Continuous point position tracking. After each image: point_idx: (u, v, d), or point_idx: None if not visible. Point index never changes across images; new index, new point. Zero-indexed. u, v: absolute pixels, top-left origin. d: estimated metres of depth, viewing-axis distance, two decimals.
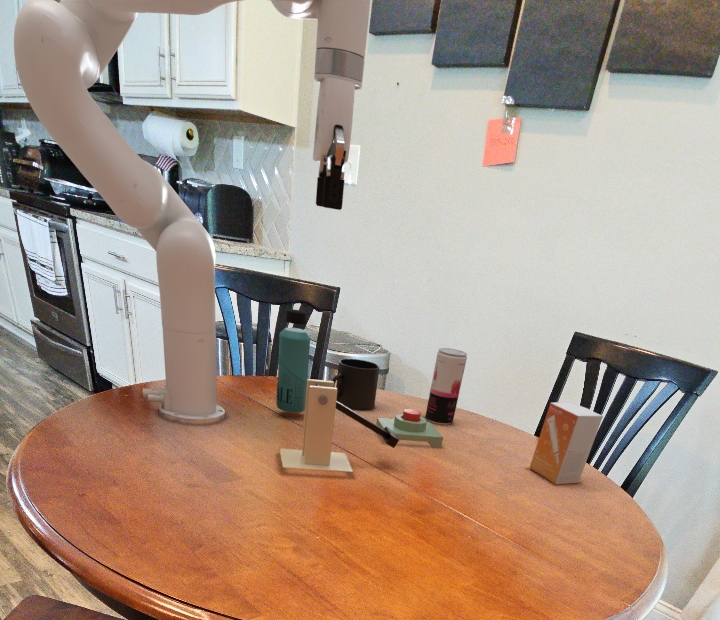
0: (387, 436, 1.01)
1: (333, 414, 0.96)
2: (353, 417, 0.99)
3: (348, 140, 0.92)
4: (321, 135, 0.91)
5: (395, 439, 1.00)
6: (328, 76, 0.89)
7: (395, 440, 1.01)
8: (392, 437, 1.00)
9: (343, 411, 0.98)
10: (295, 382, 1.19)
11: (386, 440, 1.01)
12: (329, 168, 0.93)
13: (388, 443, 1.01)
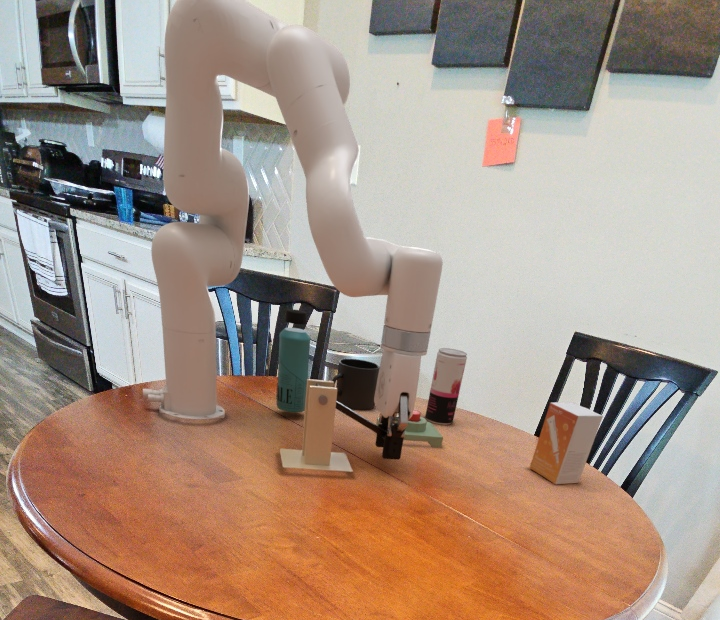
0: None
1: (333, 414, 0.96)
2: (353, 417, 0.99)
3: (413, 403, 0.95)
4: (387, 400, 0.94)
5: None
6: (396, 351, 0.91)
7: None
8: None
9: (343, 411, 0.98)
10: (295, 382, 1.19)
11: None
12: (390, 432, 0.98)
13: None
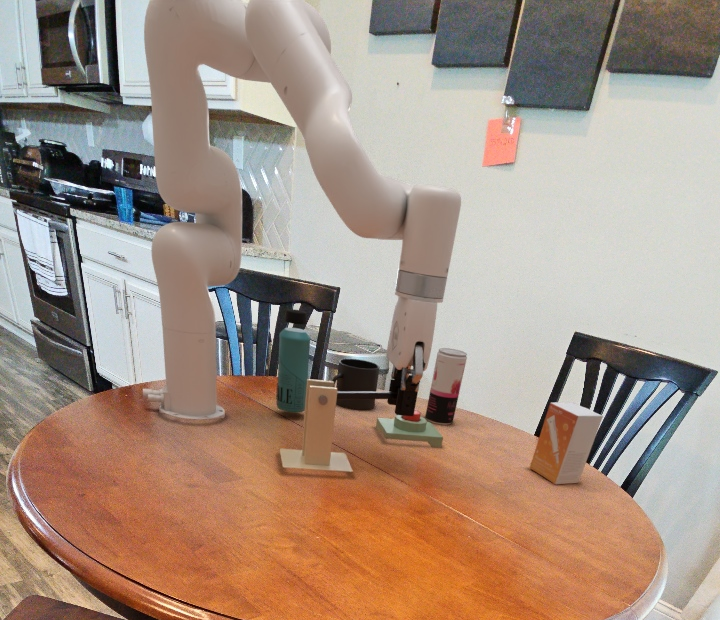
0: None
1: (333, 414, 0.96)
2: (360, 397, 0.97)
3: (428, 354, 0.91)
4: (401, 350, 0.90)
5: None
6: (411, 297, 0.87)
7: None
8: None
9: (348, 397, 0.97)
10: (295, 381, 1.19)
11: None
12: (404, 385, 0.94)
13: None
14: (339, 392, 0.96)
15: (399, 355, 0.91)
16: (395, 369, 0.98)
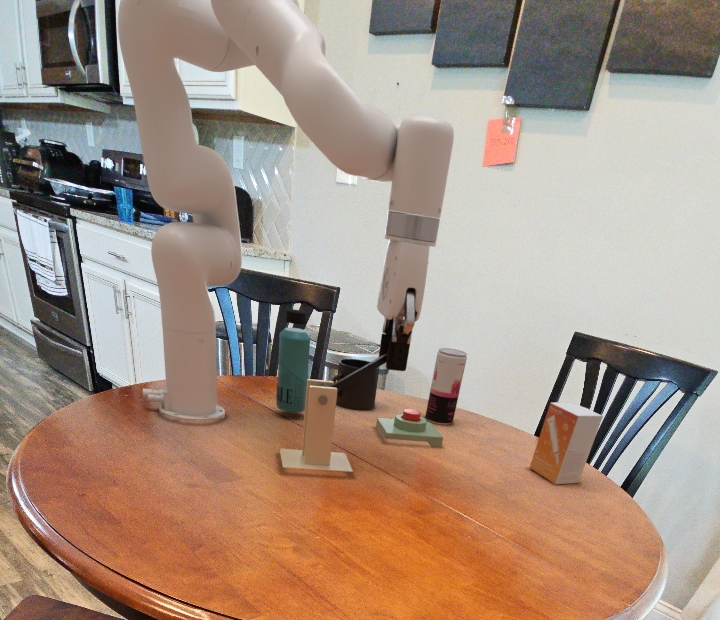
0: None
1: (333, 414, 0.96)
2: (356, 377, 0.95)
3: (420, 301, 0.86)
4: (392, 297, 0.85)
5: None
6: (402, 240, 0.82)
7: None
8: None
9: (345, 384, 0.95)
10: (295, 381, 1.19)
11: None
12: (395, 337, 0.89)
13: None
14: (336, 383, 0.95)
15: (390, 303, 0.86)
16: (386, 322, 0.94)
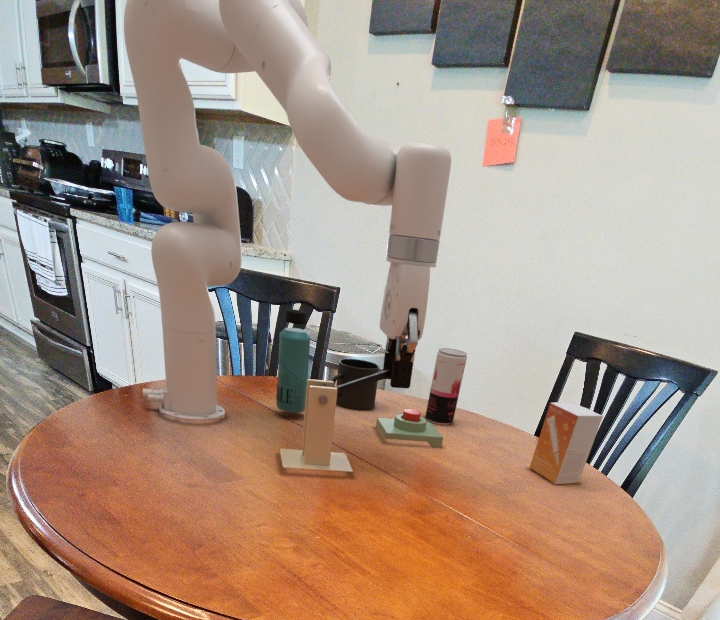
0: None
1: (333, 414, 0.96)
2: (359, 385, 0.96)
3: (423, 321, 0.88)
4: (395, 318, 0.87)
5: None
6: (403, 262, 0.84)
7: None
8: None
9: (347, 389, 0.96)
10: (295, 382, 1.19)
11: None
12: (399, 355, 0.91)
13: None
14: (337, 386, 0.96)
15: (393, 323, 0.88)
16: (389, 341, 0.96)
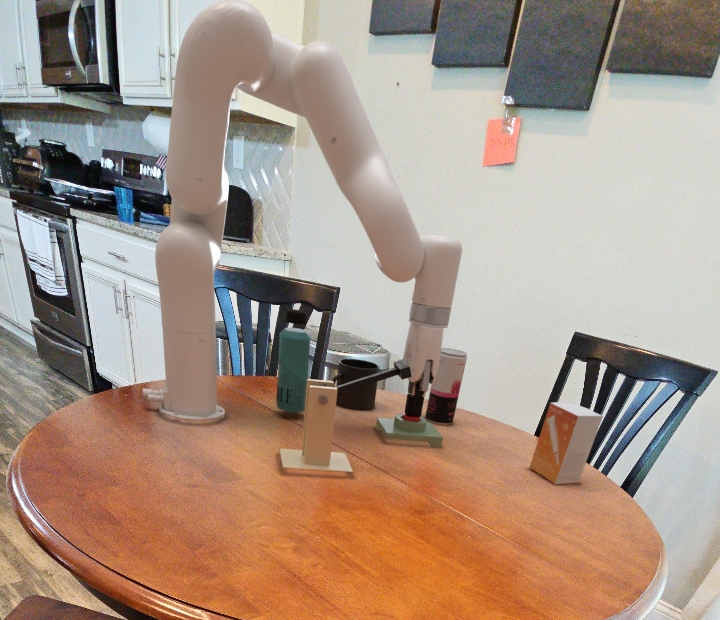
0: (398, 372, 0.95)
1: (333, 414, 0.96)
2: (359, 385, 0.96)
3: (436, 369, 1.12)
4: (414, 366, 1.11)
5: (406, 369, 0.94)
6: (422, 324, 1.08)
7: (406, 369, 0.94)
8: (402, 370, 0.94)
9: (347, 389, 0.96)
10: (295, 382, 1.19)
11: (400, 376, 0.95)
12: (413, 394, 1.17)
13: (403, 377, 0.94)
14: (337, 386, 0.96)
15: (412, 370, 1.12)
16: (411, 385, 1.18)
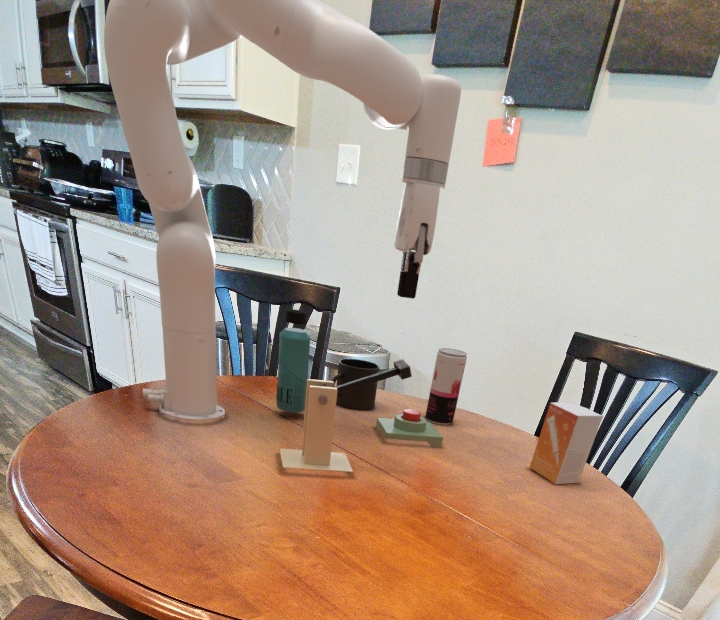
0: (398, 372, 0.95)
1: (333, 414, 0.96)
2: (359, 385, 0.96)
3: (432, 235, 1.02)
4: (408, 231, 1.01)
5: (406, 369, 0.94)
6: (417, 181, 0.98)
7: (406, 369, 0.94)
8: (402, 370, 0.94)
9: (347, 389, 0.96)
10: (295, 381, 1.19)
11: (400, 376, 0.95)
12: (407, 268, 1.07)
13: (403, 377, 0.94)
14: (337, 386, 0.96)
15: (406, 237, 1.02)
16: (405, 260, 1.08)
